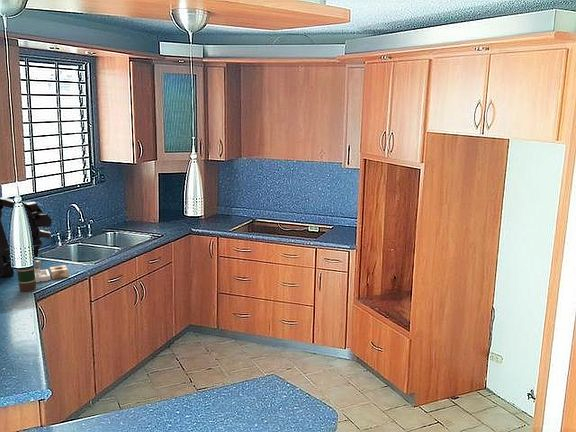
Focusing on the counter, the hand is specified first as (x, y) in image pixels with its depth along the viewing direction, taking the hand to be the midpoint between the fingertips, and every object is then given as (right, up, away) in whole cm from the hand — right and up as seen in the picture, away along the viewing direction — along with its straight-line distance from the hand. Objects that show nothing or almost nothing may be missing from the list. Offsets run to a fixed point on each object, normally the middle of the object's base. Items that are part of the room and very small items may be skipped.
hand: (35, 255), depth 303 cm
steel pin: (0, -12, +3) cm, 12 cm away
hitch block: (+10, -11, +7) cm, 16 cm away
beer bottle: (+3, -16, -16) cm, 23 cm away
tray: (0, -12, +2) cm, 13 cm away
